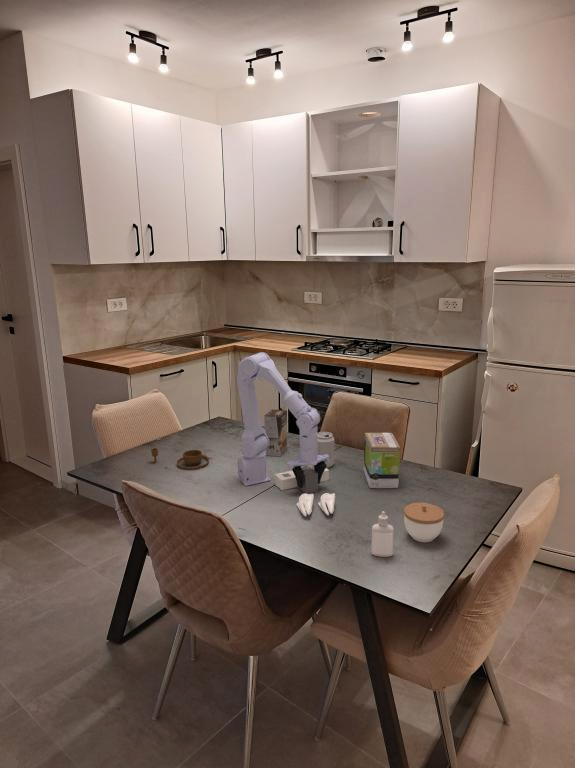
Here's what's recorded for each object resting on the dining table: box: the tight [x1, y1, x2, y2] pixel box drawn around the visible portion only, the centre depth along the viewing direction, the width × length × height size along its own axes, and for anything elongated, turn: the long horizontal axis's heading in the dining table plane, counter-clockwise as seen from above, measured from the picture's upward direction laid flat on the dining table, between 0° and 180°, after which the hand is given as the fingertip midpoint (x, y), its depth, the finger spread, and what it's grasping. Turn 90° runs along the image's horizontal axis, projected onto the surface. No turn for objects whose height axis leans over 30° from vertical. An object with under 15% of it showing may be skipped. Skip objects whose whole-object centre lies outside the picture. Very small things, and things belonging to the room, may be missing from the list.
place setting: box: [150, 447, 213, 471], centre depth 208 cm, size 18×20×6 cm
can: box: [317, 431, 335, 469], centre depth 202 cm, size 8×8×12 cm
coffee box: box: [263, 408, 288, 457], centre depth 215 cm, size 9×6×16 cm
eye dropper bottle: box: [370, 511, 395, 558], centre depth 144 cm, size 4×6×12 cm
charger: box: [296, 466, 319, 494], centre depth 184 cm, size 4×9×6 cm, turn 26°
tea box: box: [363, 432, 401, 489], centre depth 189 cm, size 15×10×15 cm
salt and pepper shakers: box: [295, 492, 336, 517], centre depth 168 cm, size 12×4×11 cm
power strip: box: [274, 468, 330, 491], centre depth 189 cm, size 18×6×4 cm, turn 116°
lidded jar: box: [403, 502, 445, 543], centre depth 152 cm, size 11×11×9 cm
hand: (308, 485), depth 183 cm, fingers open, 6 cm apart
